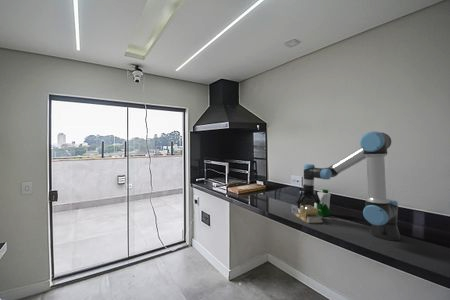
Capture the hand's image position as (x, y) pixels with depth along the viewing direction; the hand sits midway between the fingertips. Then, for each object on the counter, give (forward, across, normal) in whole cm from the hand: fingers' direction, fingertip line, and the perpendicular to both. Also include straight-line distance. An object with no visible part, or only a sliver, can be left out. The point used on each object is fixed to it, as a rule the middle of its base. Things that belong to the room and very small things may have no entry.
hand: (307, 212), depth 158 cm
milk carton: (+5, -17, -5) cm, 18 cm away
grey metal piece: (+3, 0, 0) cm, 3 cm away
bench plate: (+5, 0, 0) cm, 5 cm away
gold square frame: (+3, 0, 0) cm, 3 cm away
